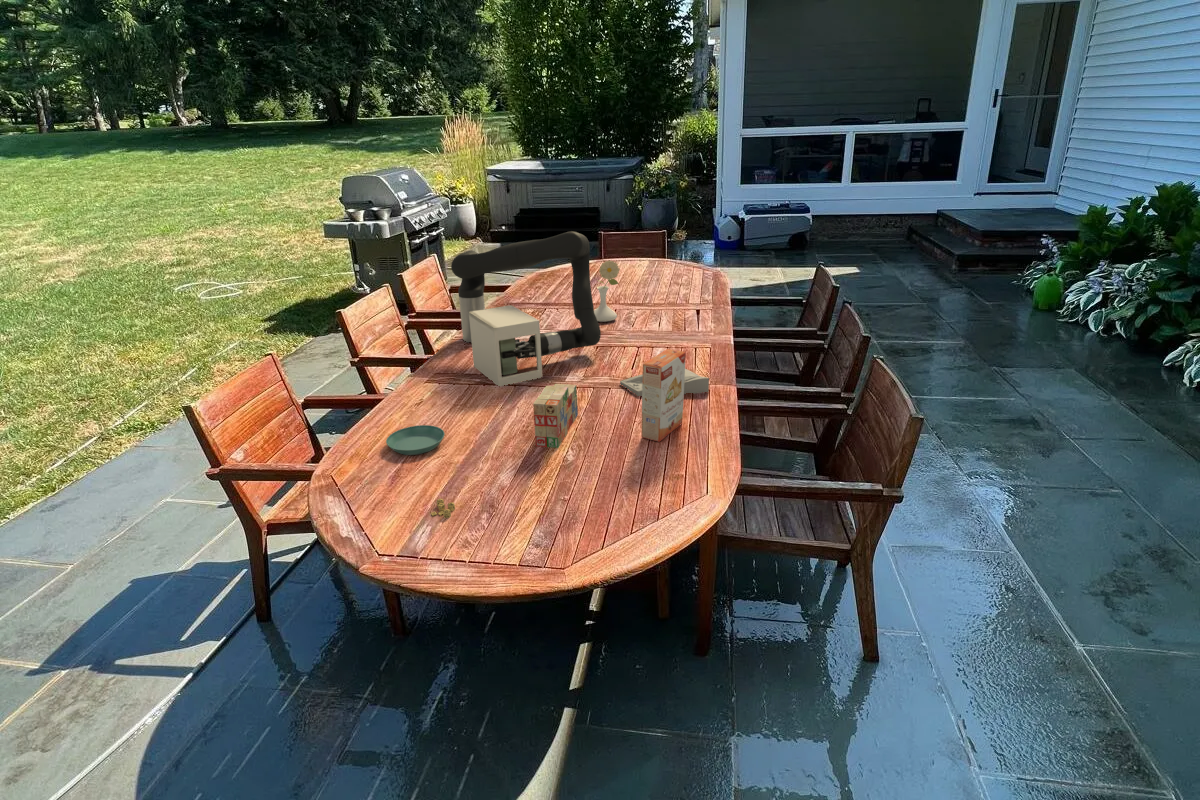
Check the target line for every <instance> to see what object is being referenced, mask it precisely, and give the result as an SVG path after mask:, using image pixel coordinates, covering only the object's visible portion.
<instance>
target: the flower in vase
mask: <svg viewBox="0 0 1200 800" xmlns="http://www.w3.org/2000/svg"><path fill="white" fill-rule="evenodd" d="M598 270H599V271H598V272H599V274H600V276H601V278H603V279H605V280H607V282H606V283H604V282H603V281H601V280H598V279H597V281H598V282H599V283H600V284H601V283H602V284H604V285H600V286H597V287H596V288H597V291H598V293H599V299H600V302H599V305H598V307H596V308H595V309H594V314H595V316H596V318H597V321H598V323H599V322H601V323H603V322H604V323H606V322H612V321H614V320H615V319H617V318H618V314H617V313H616V312H615V311H614V310H613V309H612V308H610V307H609V306H608V305H607V292H608V290H609V289H610V286H607V285H608V283H609V284H610V285H611V286H615V285H619V284H620V283H619V282H618V281H617V279H615V278H617V277H618V274H620V270H621V269H620V267H619V265H618V263H617V262H614V261H612V260H605V261H604V262H602V263H601V265H600V267H599V269H598Z"/></svg>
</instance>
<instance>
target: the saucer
mask: <svg viewBox="0 0 1200 800" xmlns="http://www.w3.org/2000/svg"><path fill="white" fill-rule="evenodd" d="M445 435H446V434H445V431H444V430H443V428H441V427H438V426H435V425H428V424H427V425H426V424H422V425H413V426H408V427H404V428H401V429H398V430H396V431H394V432H392V433H391V434H389V435H388V436H387V438H386V439H385V443H386V445H387V446H388V447H389V448H390V449H391V450H393V451H394V452H396V453H397V454H401V455H405V456H417V455H421V454H426V453H429V452H430V451H433V450H434V449H436V448H437V447H438V446H439V445H440V444H441V442H442V441H443V440H444V438H445Z"/></svg>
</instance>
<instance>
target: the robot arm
mask: <svg viewBox="0 0 1200 800" xmlns="http://www.w3.org/2000/svg"><path fill="white" fill-rule="evenodd" d="M558 259H568V260H569V262H570V264H571V269H572V288H571V300H572V307H573V313H574V314H573V315H574V317H575V319H576V320H578V321H579V323H580V327H576V328H571V329H564V330H558V331H549V332H542V333H540V342H541V357H544V356H549V355H554V354H557V353H561V352H567V351H570V350H572V349H578V348H585V347H591V346H595V345H597V344H598V343H599V342H600V340H601V338H602V337H601V334H602V331H601V328H600V325H599V321H597V318H596V316H595V314H594V310H595V309H594V302H593V301H594V300H593V295H592V287H591V277H590V275H591V274H590V242H589V240H588V238H587V236H585V235H584V234H582V233H579V232H577V231H572V230H571V231H567V232H563V233H560V234H557V235H554V236H550V237H547V238H543V239H542V238H541V239H532V240H525V241H518V242H513V243H508V244H505V245H501V246H498V247H496V248H494V249H491V250H488V251H484V252H481V253H479V252H477V251H474V250H468V251H465V252H462V253H459V254H458V255H456V256H455V257H454V258H453V260H452V262H451V265H450V269H451V271H452V273H453V275H455V276H456V277H457V278H459V279H461V282H460V286H459V287H458V290H457V292H458V301H459V302H458V303H459V312H460V322H461V331H462V340H464V341H463V342H465V341H466V342H465V343H469V342H471V344H472V341H471V331H470V321H469V312H471V311H477V310H484V309H486V308H485V295H484V290H485V285H486V282H485V281H486V279H485V274H489V273H497V272H498V273H499V272H500V273H501V272H508V271H516V270H522V269H528V268H531V267H533V266H534V267H535V266H536V265H538V264H541V263H542V262H546V261H549V260H558ZM520 340H521V339H518V338H517V339H515V345H516V349H514V350H513V351H512V350H509V351H504V352H501V357H502V358H503V359H505V358H510V357H514V358H516V359H518V360H520V359H527V358H529V359H530V358H536V342H535V334H533V335H529V339H528V340H521V341H520Z"/></svg>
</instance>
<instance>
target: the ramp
mask: <svg viewBox="0 0 1200 800" xmlns="http://www.w3.org/2000/svg"><path fill="white" fill-rule="evenodd" d="M642 380H643V373H642V374H638V375H635V376H632V377H629V378H626V379H621V380H620V381H619V385H620V384H621V385H623V386H624V387H626V388H627V389H629V390H630V391H632V392H633V393H635V394H636V395H637V396H636V395H635V394H634V395H635V396H636V397H638V396H642ZM621 385H620V386H621ZM709 386H710V378H709V377H706V376H702V375H701V376H700V375H698V374H697V373H695V372H693V371H691V370H689V369H687V368H685V379H684V395H687V394H686V393H693V394H705V393H704V392H708V393H709V391H710V390H709V389H710V388H709ZM624 387H623V388H624ZM627 389H626V390H627ZM630 391H629V392H630ZM632 392H631V393H632ZM702 392H703V393H702ZM633 393H632V394H633Z"/></svg>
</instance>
